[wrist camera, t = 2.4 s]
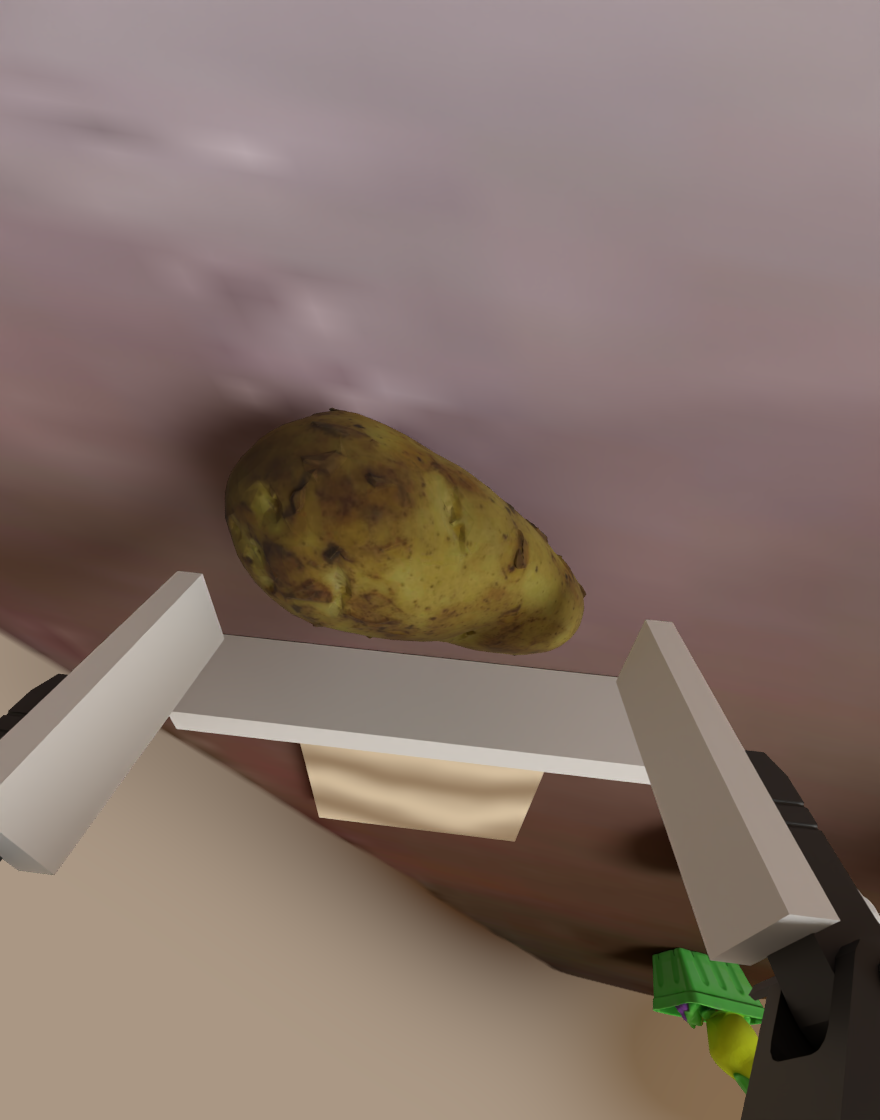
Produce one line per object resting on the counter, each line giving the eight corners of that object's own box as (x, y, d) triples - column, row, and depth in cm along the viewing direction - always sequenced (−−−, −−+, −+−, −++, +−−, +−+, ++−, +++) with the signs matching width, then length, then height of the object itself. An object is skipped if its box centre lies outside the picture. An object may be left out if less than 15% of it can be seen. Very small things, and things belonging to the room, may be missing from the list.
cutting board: (295, 667, 24) (285, 688, 23) (561, 697, 24) (566, 719, 23) (325, 797, 34) (319, 817, 33) (513, 820, 34) (514, 841, 33)
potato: (437, 636, 22) (418, 790, 15) (265, 432, 16) (119, 543, 10) (587, 580, 19) (642, 742, 12) (444, 302, 13) (405, 334, 7)
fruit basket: (636, 954, 54) (668, 1095, 44) (683, 940, 49) (730, 1095, 39) (708, 970, 55) (753, 1109, 46) (760, 959, 50) (822, 1112, 41)
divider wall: (221, 634, 23) (166, 710, 19) (643, 680, 22) (679, 770, 18) (228, 651, 24) (176, 728, 20) (634, 696, 23) (666, 786, 19)
